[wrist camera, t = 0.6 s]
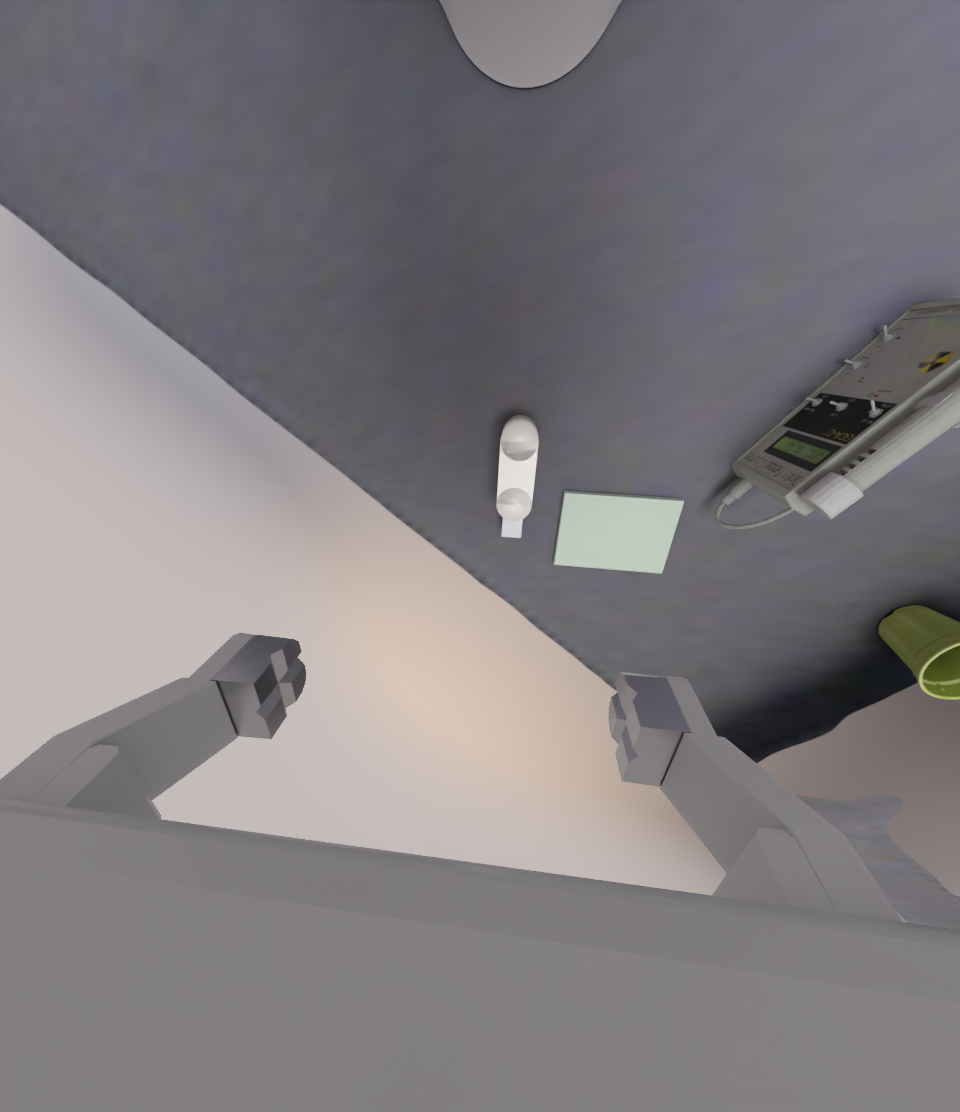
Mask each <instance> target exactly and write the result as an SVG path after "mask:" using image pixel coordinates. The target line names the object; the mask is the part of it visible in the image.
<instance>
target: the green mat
mask: <svg viewBox="0 0 960 1112" xmlns="http://www.w3.org/2000/svg"><path fill="white" fill-rule="evenodd" d="M683 504H684V500H683V499H682V498H670V497H655V496H641V495H626V494H612V493H597V492H583V491H568V490H564V494H563V501H562V508H561V514H560V521H559V528H558V534H557V541H556V548H555V555H554V565H565V566H577V567H590V568H602V569H614V570H626V571H638V572H650V573H662V572H663V568H664V565H665V562H666V559H667V556H668V552H669V549H670V546H671V543H672V539H673V536H674V533H675V530H676V526H677V523H678V520H679V517H680V513H681V510H682V507H683Z"/></svg>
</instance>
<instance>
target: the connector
mask: <svg viewBox="0 0 960 1112" xmlns="http://www.w3.org/2000/svg"><path fill="white" fill-rule="evenodd" d="M538 444H539V439H538V432H537V427H536V424H535V422H534V421H533V420H532V419H531V418H530V417H528V416H525V415H516V416H513V417H511V418H510V419H509V420H508V421H507V422H506V423H505V425H504V428H503V432H502V435H501V440H500V455H499V471H498V488H497V510H498V512H499V514H500V515H501V516H502V517H503V523H502V537H514V538H521V532H522V522H523V519H524V518H525V517H526V516H527V515H528V514H529V513H530V511H531V507H532V499H533V490H534V481H535V471H536V462H537V453H538Z"/></svg>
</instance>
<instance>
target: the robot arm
mask: <svg viewBox="0 0 960 1112" xmlns="http://www.w3.org/2000/svg"><path fill="white" fill-rule="evenodd" d="M439 1H440V3H441V5H442V7H443V9H444V11H445V13H446V16H447V18H448V20H449V23H450V25H451V28H452V30H453V32H454V34H455V36H456V38H457V40H458V42H459V44H460V45H461V47H462V49H463V50H464V52H465V53H466V55H467V56H468V57H469V58H470V60H471V61H472V62H473V63H474V64H475V65H476V66H477V67H478V68H479V69H480V70H481V71H482V72H483V73H485V74H486V75H487V76H489V77H490V78H492V79H493V80H495V81H497V82H499V83H502V84H505V85H508V86H512V87H518V88H531V87H537V86H541V85H545V84H547V83H550V82H552V81H554V80H556V79H558V78H560V77H562V76H563V75H565V74H566V73H568V72H569V71H570V70H572V69H573V68H574V67H575V66H576V65H577V64H579V63H580V62H581V61H582V60H583V59H584V58H585V56H586V55H587V54H588V53H589V52H590V51H591V49H592V48H593V47H594V46H595V44H596V43H597V41H598V40H599V39H600V37H601V36H602V34H603V32H604V31H605V29H606V27H607V26H608V24H609V22H610V20H611V19H612V17H613V15H614V13H615V11H616V10H617V8H618V6H619V5H620V3H621V1H622V0H439ZM300 653H301V648H300V645H299V642H298V641H296V640H294V639H287V638H279V637H271V636H263V635H251V634H243V633H239V634H236V635H233V636H232V637H231V638H230V639H229V640H228V641H227V642H226V643H225V644H224V645H223V646H222V647H221V648H220V649H218V650H217V652H215V653H214V655H212V656H211V657H210V658H209V659H208V660H207V661H206V662H205V663H204V664H203V665H202V666H201V667H200V668H199V669H198V670H197V671H196V672H194V674H192V675H191V676H190V677H189V678H181V679H178V680H176V681H174V682H172V683H170V684H168V685H165V686H163V687H161V688H159V689H156V690H154V691H152V692H150V693H148V694H145V695H143V696H141V697H139V698H137V699H135V700H132V701H130V702H128V703H126V704H124V705H122V706H119V707H117V708H115V709H113V710H111V711H108V712H106V713H104V714H102V715H99V716H97V717H96V718H93V719H91V720H89V721H86V722H84V723H82V724H80V725H77V726H75V727H73V728H71V729H69V730H67V731H64V732H63V733H60V734H58V735H56V736H54V737H52V738H51V739H50V740H49V741H47V742H46V743H45V744H44V745H42V746H41V747H40V748H39V749H38V750H36V751H35V752H34V753H33V754H31V755H30V756H29V757H28V758H26V759H25V760H24V761H23V762H22V763H20V764H19V765H18V766H17V767H15V768H14V769H13V770H12V771H10V772H9V773H8V774H7V775H5V776H4V777H3V778H2V779H0V1112H960V930H957V929H949V928H942V927H935V926H928V925H920V924H913V923H905V922H902V920H901V919H900V917H899V916H898V914H897V913H896V911H895V910H894V908H893V907H892V905H891V904H890V902H889V901H888V899H887V898H886V896H885V895H884V893H883V892H882V890H881V889H880V887H879V886H878V884H877V883H876V881H875V880H874V878H873V877H872V875H871V874H870V872H869V871H868V869H867V868H866V866H865V865H864V863H863V862H862V860H861V859H860V857H859V856H858V854H857V853H856V851H855V850H854V848H853V847H852V845H851V844H850V842H849V841H848V839H847V838H846V836H845V835H844V834H842V833H841V832H840V831H839V830H837V829H836V828H835V827H834V826H832V825H831V824H830V823H829V822H828V821H826V820H825V819H824V818H823V817H821V816H820V815H819V814H818V813H817V812H815V811H814V810H813V809H812V808H810V807H809V806H808V805H807V804H805V803H804V802H803V801H802V800H801V799H799V798H798V797H797V796H796V795H794V794H793V793H792V792H791V791H790V790H788V789H787V788H786V787H785V786H783V785H782V784H781V783H779V782H778V781H777V780H776V779H775V778H773V777H772V776H771V775H770V774H768V773H767V772H766V771H765V770H764V769H763V768H761V767H760V766H758V764H756V763H755V762H754V761H753V760H751V759H750V758H749V757H748V756H747V755H745V754H744V753H743V752H742V751H740V750H739V749H738V748H737V747H736V746H734V745H733V744H732V743H731V742H729V741H728V740H727V739H726V738H724V737H717V735H716V733H715V731H714V729H713V727H712V725H711V723H710V721H709V719H708V717H707V715H706V714H705V712H704V710H703V708H702V706H701V704H700V702H699V700H698V698H697V696H696V694H695V692H694V690H693V688H692V686H691V684H690V683H689V681H688V680H687V679H686V678H682V677H671V676H657V675H646V674H635V673H625V672H620V673H619V675H618V676H617V680H616V683H615V684H616V688H617V692H618V693H616V694H615V695H614V696H612V698H611V702H610V706H609V725H610V731H611V736H612V738H613V739H614V740H615V741H616V742H617V743H618V744H619V745H618V748H617V751H616V757H617V761H618V766H619V770H620V774H621V778H622V781H625V782H632V783H638V784H645V785H652V786H659V787H661V788H660V789H661V790H662V791H663V793H664V794H665V795H666V796H667V798H668V799H669V800H670V802H671V803H672V804H673V805H674V807H675V808H676V809H677V810H678V812H679V813H680V814H681V816H682V817H683V818H684V819H685V821H686V822H687V823H688V824H689V826H690V827H691V828H692V829H693V831H694V832H695V833H696V835H697V836H698V837H699V838H700V840H701V841H702V842H703V843H704V845H705V846H706V847H707V848H708V850H709V851H710V852H711V853H712V855H713V856H714V857H715V858H716V860H717V861H718V862H719V864H720V865H721V866H722V867H723V869H724V870H725V871H726V872H727V874H726V876H725V877H724V879H723V880H722V882H721V883H720V885H719V886H718V888H717V889H716V891H715V892H714V894H713V895H712V896H710V895H703V894H696V893H688V892H681V891H674V890H667V889H660V888H652V887H645V886H638V885H630V884H623V883H616V882H609V881H602V880H594V879H587V878H580V877H573V876H565V875H558V874H551V873H544V872H537V871H530V870H522V869H515V868H508V867H500V866H494V865H486V864H479V863H472V862H464V861H458V860H451V859H443V858H436V857H429V856H422V855H414V854H407V853H399V852H393V851H385V850H378V849H371V848H364V847H356V846H349V845H341V844H334V843H326V842H320V841H312V840H305V839H298V838H290V837H284V836H276V835H268V834H262V833H254V832H247V831H240V830H233V829H226V828H218V827H210V826H203V825H196V824H190V823H182V822H175V821H168V820H161V815H160V813H159V811H158V810H157V808H156V807H155V805H154V804H153V802H152V800H153V799H154V798H156V797H157V796H159V794H161V793H163V792H164V791H165V790H167V789H168V788H169V787H171V786H172V785H174V784H175V783H176V782H178V781H179V780H180V779H182V778H183V777H184V776H186V775H187V774H189V773H190V772H191V771H192V770H194V769H195V768H197V767H198V766H200V765H201V764H202V763H204V762H205V761H206V760H208V759H209V758H211V757H212V756H213V755H215V754H216V753H217V752H218V751H220V750H221V749H223V748H224V747H226V746H227V745H228V744H230V743H231V742H232V741H234V740H235V739H236V738H237V736H244V737H255V738H267V739H272V737H273V736H274V734H275V733H276V731H277V730H278V728H279V727H280V725H281V724H282V722H283V721H284V719H285V718H286V716H287V715H286V707H288V706H289V705H291V704H293V703H294V702H296V701H297V699H298V698H299V696H300V694H301V693H302V691H303V687H304V684H305V681H306V670H305V665H304V664H303V663H302V662H301V661H300V660H299V659H298V658H297V657H298V656H299V654H300Z"/></svg>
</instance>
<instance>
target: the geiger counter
mask: <svg viewBox="0 0 960 1112" xmlns="http://www.w3.org/2000/svg"><path fill="white" fill-rule="evenodd" d="M844 362H846V364H845V365H844V366H842V367H841V368H840V369H839V370H838V371H837V372H836V373H834V374H833V375H832V376H831V377H830V378H829V379H828V380H826V381H825V382H824V383H823V384H822V385H821V386H820V387H818V388H817V389H816V390H815V391H814V392H813V393H812V394H811V395H809V396H808V397H806V399H805V400H804V401H803V402H801V403H800V404H799V405H798V406H797V407H796V408H795V409H793V410H792V411H791V412H790V413H789V414H788V415H787V416H785V417H784V418H783V419H782V420H781V421H780V422H779V423H778V424H776V425H775V426H774V427H773V428H772V429H771V430H770V431H768V432H767V433H766V434H765V435H764V436H763V437H762V438H760V439H759V440H758V441H757V442H756V443H755V444H754V445H753V446H751V447H750V448H749V449H748V450H747V451H746V452H745V453H743V454H742V455H741V456H740V457H739V458H738V459H737V460H735V461H734V462H733V463H732V464H731V465H730V466H731V468H732V469H733V471H734V472H735V474H736V476H738V477H740V478H741V479H742V480H741V481H740V482H739V483H737V484H736V485H735V486H734V487H733V488H731V489H730V490H729V491H728V492H729V493H727V494H726V495H725V496H724V497H723V498H722V499H720V500H721V501H722V502H721V504H720V505H719V507H718V508H717V511H716V514H715V519H716V522H717V523H718V524H719V525H720V526H722V527H725V528H729V529H745V528H752V527H756V526H760V525H763V524H766V523H769V522H772V521H774V520H777V519H779V518H781V517H783V516H785V515H787V514H788V513H790V512H792V511H794V510H795V511H797V512H799V513H800V514H802V515H804V516H805V515H807V514H809V513H810V512H811V511H813V510H815V511H816V512H818V513H819V514H821V515H822V516H824V517H826V518H828V519H832V518H834V517H835V516H836V515H838V514H839V513H840V512H842V511H843V510H845V509H846V508H847V507H849V506H850V505H852V504H853V503H854V502H856V501H857V500H859V499H860V498H861V497H863V493H862V491H864V490H865V489H866V488H868V487H869V486H871V485H872V484H873V483H875V482H876V481H877V480H879V479H880V478H882V477H883V476H884V475H886V474H887V473H888V472H890V471H891V470H893V469H894V468H895V467H897V466H898V465H900V464H901V463H902V462H904V461H905V460H906V459H908V458H909V457H911V456H912V455H913V454H915V453H916V452H918V451H919V450H920V449H922V448H923V447H924V446H926V445H927V444H929V443H930V442H931V441H933V440H934V439H935V438H937V437H938V436H940V435H941V434H942V433H944V432H945V431H947V430H948V429H949V428H957V427H959V426H960V298H957V299H949V300H940V301H932V302H924V303H915V304H913V305H912V306H911V307H909V308H908V309H907V310H906V311H905V312H904V313H903V314H902V315H900V316H899V317H898V318H897V319H896V320H895V321H894V322H892V323H891V324H890V325H889V326H888V327H887V326H886V325H884V326H883V331H882V332H881V333H880V334H879V335H878V336H876V337H875V338H874V339H873V340H872V341H871V342H870V343H869V344H867V345H866V346H865V347H864V348H863V349H862V350H861V351H859V352H858V353H857V354H856V355H855V356H854V357H853V358H851V359H850V360H847V359H846V360H845V361H844ZM753 486H755V487H756V488H758V489H760V490H761V491H763V492H765V493H766V494H768V495H770V496H771V497H773V498H775V499H776V500H778V501H780V502H781V503H783V504H785V505H786V506H788V507H790V508H788V509H787V510H785V511H783V512H781V513H779V514H777V515H775V516H772V517H770V518H768V519H765V520H762V521H759V522H755V523H751V524H745V525H729V524H725V523H723V522H722V521H721V520H720V513H721V510H722V508H723V507H724V505H725V504H726V505H727V506H728V505H729V504H730V503H731V502H733V501H734V500H735V499H738V498H739V497H741V496H742V495H743V494H744V493H746V492H747V491H748V490H749V489H750V488H752V487H753Z"/></svg>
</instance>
